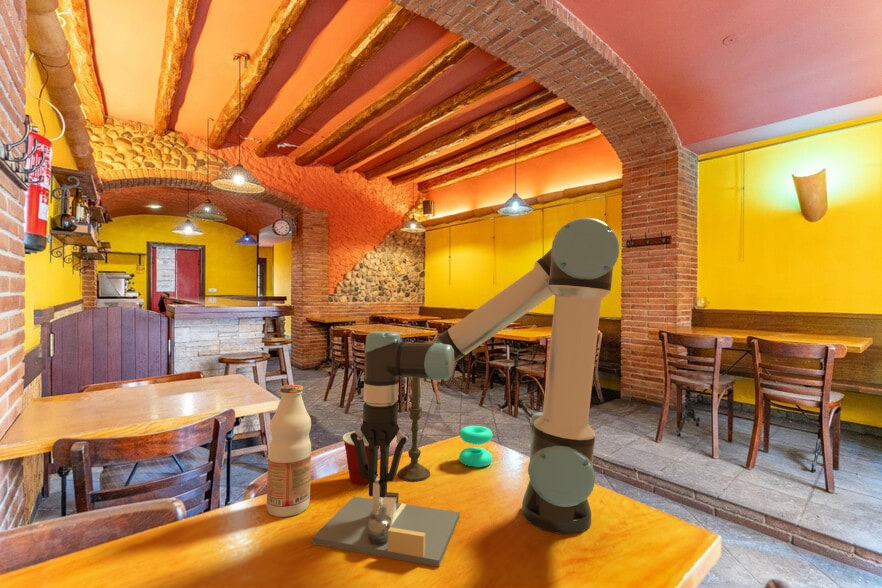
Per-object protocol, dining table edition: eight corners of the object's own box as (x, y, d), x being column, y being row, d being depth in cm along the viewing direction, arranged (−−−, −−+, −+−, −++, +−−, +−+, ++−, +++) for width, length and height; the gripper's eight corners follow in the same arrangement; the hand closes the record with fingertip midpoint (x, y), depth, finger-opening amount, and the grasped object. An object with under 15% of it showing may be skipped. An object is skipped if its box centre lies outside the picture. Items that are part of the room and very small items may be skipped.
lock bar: (387, 543, 78) (388, 526, 78) (365, 542, 78) (365, 525, 78) (400, 506, 92) (401, 492, 92) (381, 505, 93) (382, 491, 93)
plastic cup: (373, 492, 103) (374, 444, 103) (334, 487, 105) (335, 440, 106) (387, 474, 114) (388, 431, 114) (351, 470, 116) (352, 428, 116)
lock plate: (459, 517, 91) (459, 495, 92) (438, 567, 74) (439, 539, 74) (353, 501, 98) (354, 480, 98) (311, 543, 81) (312, 517, 81)
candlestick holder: (394, 469, 117) (397, 365, 118) (425, 466, 120) (427, 364, 121) (401, 483, 108) (403, 370, 109) (434, 479, 111) (436, 369, 112)
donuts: (483, 423, 131) (498, 432, 121) (483, 454, 130) (497, 466, 121) (454, 425, 127) (467, 435, 118) (454, 458, 127) (466, 470, 118)
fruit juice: (261, 519, 89) (265, 390, 90) (271, 499, 98) (274, 382, 99) (306, 516, 91) (310, 390, 92) (312, 496, 100) (315, 382, 101)
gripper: (413, 400, 92) (410, 506, 91) (359, 396, 94) (355, 499, 94) (404, 408, 85) (401, 523, 84) (346, 404, 87) (342, 516, 86)
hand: (377, 511), depth 89 cm, fingers closed
